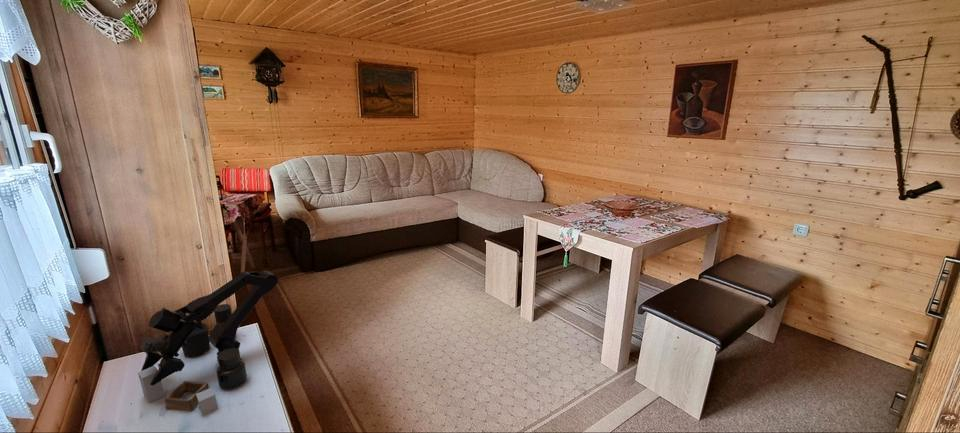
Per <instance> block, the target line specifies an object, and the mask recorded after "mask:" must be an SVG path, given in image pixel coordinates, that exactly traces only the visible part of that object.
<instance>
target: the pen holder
mask: <svg viewBox="0 0 960 433" xmlns="http://www.w3.org/2000/svg"><path fill="white" fill-rule="evenodd" d="M202 327H203V329H199V328H195V329H194V331H193V332H192V334H191V335H190V336H189V338H188V339H187V340H186V343H187V345H186V346H182V347H181V349H182V352H183V355H184V356H185V357H186V358H197V357H200V356H203V355H205V354H206V353H208V351H209V350H210V348H211V343H210V342H209V338H208V337H209V335H210V334H209V329H208V325H207V324H206V323H203V322H202Z"/></svg>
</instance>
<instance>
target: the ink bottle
mask: <svg viewBox="0 0 960 433" xmlns="http://www.w3.org/2000/svg"><path fill="white" fill-rule="evenodd" d="M240 357H241V352H240V349H239V350H238V349H236V348H230V349H226V350H224V351H222V352H220V353H219V354H218V355H217V354H216V360H217V364H218V365H217V368H216V370H215V372H216V378H217V383H218V387H219V388H220V389H221V390H224V391H231V390H234V389H236V388H239V387H241V386H242V385H244V384H245V383H246V382H247V379H248V374H247V368H246V363H245V362H244V360H241V359H242V358H241V359H240Z"/></svg>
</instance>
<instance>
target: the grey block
mask: <svg viewBox="0 0 960 433" xmlns="http://www.w3.org/2000/svg"><path fill="white" fill-rule="evenodd" d="M196 397H197V402H198V405H197V407H198V408H199V412H200V414H201V415H202V416H203V415H206V414H208V413H211V412H212V411H214V409H215V410H216V408H217V409H218V408H219V406H218V402H217V397H216V393H215V391H214V389H213V387H209V389H207V390H204V391H202V392H200V393H197V394H196Z"/></svg>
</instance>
